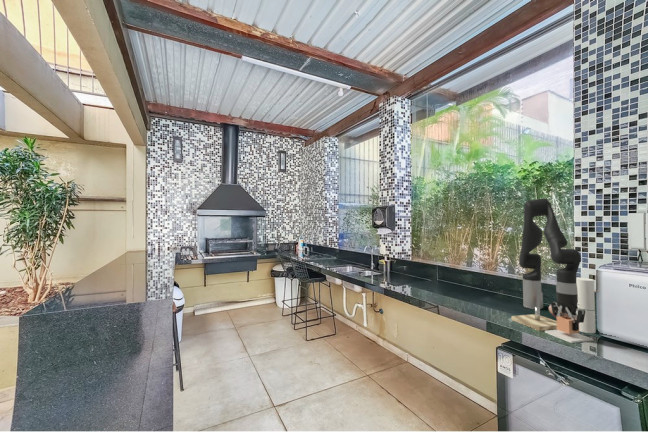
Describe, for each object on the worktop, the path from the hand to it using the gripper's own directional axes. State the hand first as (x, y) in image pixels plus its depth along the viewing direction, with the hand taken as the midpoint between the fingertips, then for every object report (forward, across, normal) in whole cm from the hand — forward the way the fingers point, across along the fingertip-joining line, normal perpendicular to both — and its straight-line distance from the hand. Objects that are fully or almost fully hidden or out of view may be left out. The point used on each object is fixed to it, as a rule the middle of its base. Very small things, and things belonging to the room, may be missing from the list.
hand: (567, 328), depth 130 cm
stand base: (+4, +16, -1) cm, 16 cm away
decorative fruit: (+4, +19, -19) cm, 27 cm away
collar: (+1, 0, 0) cm, 1 cm away
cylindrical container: (+4, +4, -16) cm, 16 cm away
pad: (+4, 0, 0) cm, 4 cm away
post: (+2, +16, -1) cm, 16 cm away
